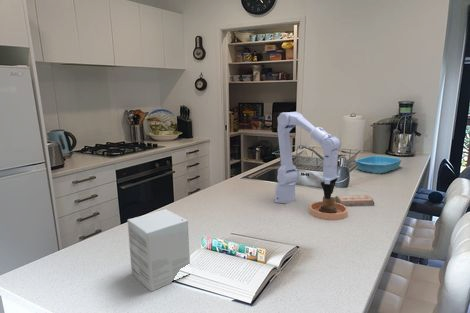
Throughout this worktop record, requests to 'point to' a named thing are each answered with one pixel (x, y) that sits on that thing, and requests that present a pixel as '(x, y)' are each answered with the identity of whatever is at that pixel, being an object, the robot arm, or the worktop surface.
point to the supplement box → (158, 247)
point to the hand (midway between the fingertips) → (328, 195)
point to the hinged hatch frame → (327, 210)
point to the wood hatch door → (329, 203)
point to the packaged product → (354, 200)
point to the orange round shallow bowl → (340, 214)
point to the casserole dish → (378, 164)
